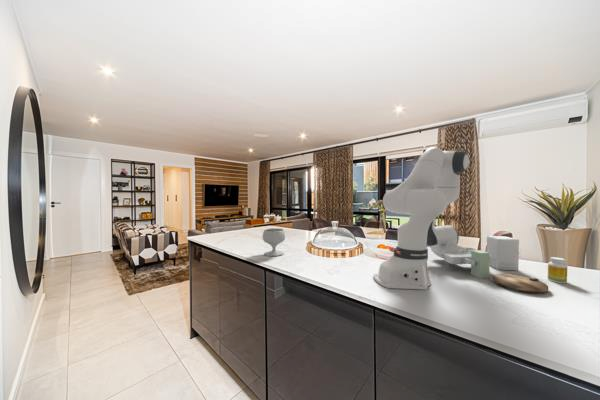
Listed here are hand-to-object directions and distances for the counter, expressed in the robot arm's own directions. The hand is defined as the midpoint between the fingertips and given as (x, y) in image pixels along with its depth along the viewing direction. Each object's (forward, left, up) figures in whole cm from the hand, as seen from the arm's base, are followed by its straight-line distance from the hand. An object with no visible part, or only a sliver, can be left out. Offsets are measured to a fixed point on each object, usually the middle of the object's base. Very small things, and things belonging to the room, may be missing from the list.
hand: (481, 263), depth 99 cm
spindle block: (0, +1, -6) cm, 6 cm away
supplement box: (+21, +11, -6) cm, 24 cm away
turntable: (+6, -10, -5) cm, 13 cm away
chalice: (-93, +47, -6) cm, 104 cm away
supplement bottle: (+27, -7, -6) cm, 29 cm away
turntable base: (+6, -10, -6) cm, 13 cm away
